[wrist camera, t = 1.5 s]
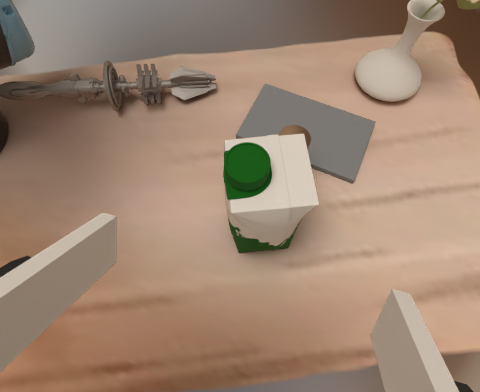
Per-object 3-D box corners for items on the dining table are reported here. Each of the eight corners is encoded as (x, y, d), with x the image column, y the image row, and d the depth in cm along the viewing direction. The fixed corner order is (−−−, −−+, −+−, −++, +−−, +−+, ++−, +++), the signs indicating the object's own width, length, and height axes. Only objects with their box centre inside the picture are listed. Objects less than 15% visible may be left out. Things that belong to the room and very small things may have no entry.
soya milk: (228, 202, 45) (216, 121, 27) (286, 197, 45) (315, 112, 27) (232, 260, 42) (223, 212, 23) (296, 254, 42) (336, 202, 24)
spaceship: (-8, 57, 47) (-31, 77, 42) (212, 50, 52) (217, 67, 46) (17, 103, 53) (-1, 127, 47) (213, 93, 58) (218, 113, 52)
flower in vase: (342, 91, 53) (415, -84, 30) (365, 51, 57) (446, -132, 34) (413, 120, 51) (554, -47, 28) (433, 76, 54) (571, -104, 31)
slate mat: (236, 138, 50) (236, 134, 49) (264, 87, 54) (265, 83, 53) (352, 183, 46) (354, 180, 45) (373, 125, 50) (375, 121, 49)
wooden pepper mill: (267, 183, 46) (273, 144, 36) (277, 162, 48) (285, 120, 38) (291, 193, 46) (304, 156, 36) (300, 172, 47) (315, 131, 37)
